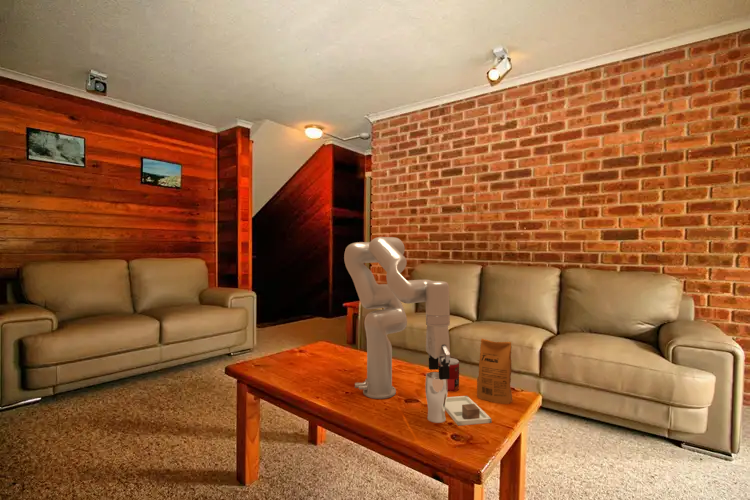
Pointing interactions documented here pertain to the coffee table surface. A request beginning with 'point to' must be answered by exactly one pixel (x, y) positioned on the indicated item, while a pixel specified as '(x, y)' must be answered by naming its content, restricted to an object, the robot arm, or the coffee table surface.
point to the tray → (455, 411)
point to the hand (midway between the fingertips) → (438, 373)
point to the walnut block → (470, 411)
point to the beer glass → (436, 397)
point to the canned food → (453, 375)
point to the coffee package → (495, 372)
